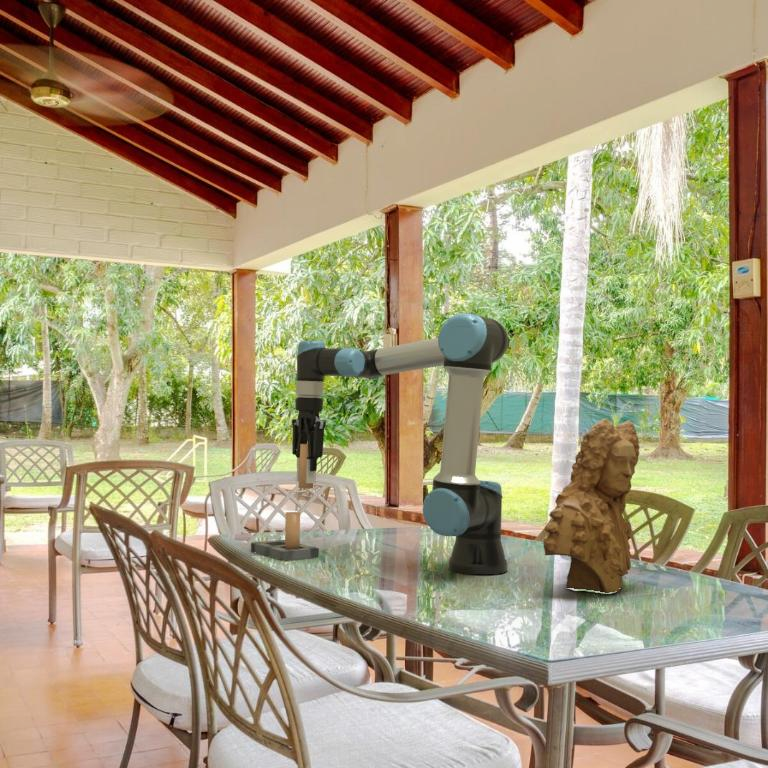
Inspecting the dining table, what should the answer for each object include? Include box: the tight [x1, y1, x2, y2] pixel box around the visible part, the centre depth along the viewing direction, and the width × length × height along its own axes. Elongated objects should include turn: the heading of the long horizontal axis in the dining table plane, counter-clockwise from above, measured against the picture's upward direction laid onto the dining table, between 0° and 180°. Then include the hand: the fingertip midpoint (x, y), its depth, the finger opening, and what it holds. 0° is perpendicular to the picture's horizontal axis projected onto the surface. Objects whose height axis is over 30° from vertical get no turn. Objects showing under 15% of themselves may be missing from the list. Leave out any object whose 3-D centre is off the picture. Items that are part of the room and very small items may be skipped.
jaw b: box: [298, 443, 314, 490], centre depth 237 cm, size 4×4×12 cm
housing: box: [250, 539, 320, 562], centre depth 241 cm, size 18×11×2 cm, turn 38°
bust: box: [543, 417, 640, 593], centre depth 203 cm, size 34×18×40 cm, turn 149°
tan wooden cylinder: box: [284, 511, 301, 550], centre depth 238 cm, size 4×4×12 cm
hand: (306, 482), depth 237 cm, fingers closed on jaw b, 4 cm apart
